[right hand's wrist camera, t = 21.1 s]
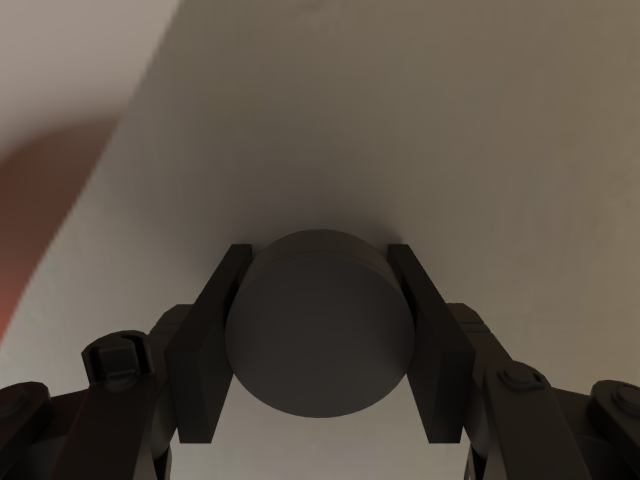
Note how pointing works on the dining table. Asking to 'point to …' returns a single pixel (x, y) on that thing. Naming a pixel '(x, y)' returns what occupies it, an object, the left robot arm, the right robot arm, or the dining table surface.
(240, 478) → the dining table surface
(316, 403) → the lid
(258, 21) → the dining table surface
